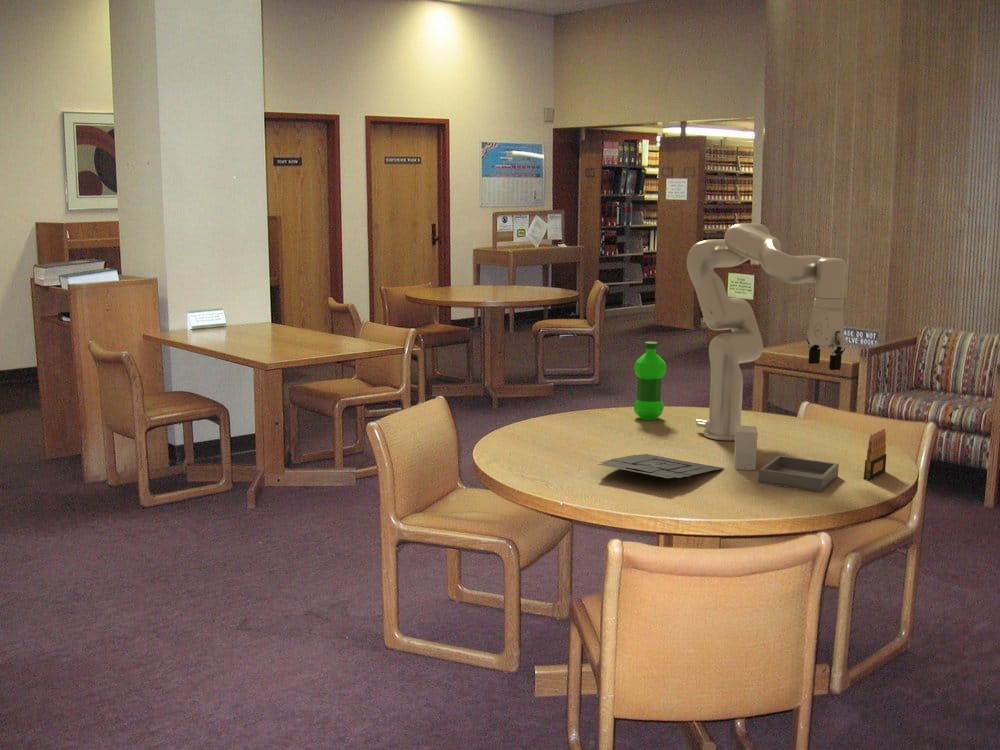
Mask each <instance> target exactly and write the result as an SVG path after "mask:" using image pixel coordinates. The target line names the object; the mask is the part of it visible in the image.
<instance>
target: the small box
mask: <svg viewBox="0 0 1000 750" xmlns="http://www.w3.org/2000/svg"><path fill="white" fill-rule="evenodd" d="M757 448H758V429H757V426H756V425H755V426H751V425H741V426H736V431H735V440H734V456H733V463H734V470H744V471H745V470H746V471H756V469H757V454H758V453H757V451H758V450H757Z"/></svg>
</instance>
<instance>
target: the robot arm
mask: <svg viewBox="0 0 1000 750" xmlns="http://www.w3.org/2000/svg"><path fill="white" fill-rule="evenodd" d="M723 237H724V238H722V239H721V238H719V239H718V238H717V239H706V240H702V241H699V242H696V243H695V244H693V245H692V247H691V248H690V249H689V251H688V253H687V257H686V258H687V259H686V269H687V272H688V276H689V278H690V280H691V283H692V284H693V287H694V290H695V293H696V297H697V300H698V303H699V306H700V310H701V313H702V317H703V320H704V322H705V325H706V326H707V328H709V330H712V331H725V330H728V331H729V330H730V331H731V332H725V333H720V334H717V335H716V336H715V337H712V339H711V341H710V343H709V345H708V355H709V364H710V393H709V412H708V413H709V415H708V417H709V418H708V419H706V420H704V419H700V418H697V419H696V421H695V425H696V426H697V427H699V428H704V430H703V433H702V435H703V436H704V437H706V438H708V439H711V440H716V441H735V431H736V426H742V410H743V409H742V407H743V406H742V405H743V387H744V376H743V373H742V371H741V367H740V364H745V363H751V362H755V361H757V360H758V359H760V358H761V356H762V354H763V350H764V348H763V347H764V344H763V338H762V336H761V335H762V334H761V332H760V330H759V329H760V328H759V325H758V322H757V320H756V316H755V314H754V311H753V308H752V306H751V304H750V303H749V302H748V301H746V299H743V298H741V297H729V296H728V293H727V291H726V286H725V285H724V282H723V280H722V279H721V277H720V276H719V274H717V273H716V272H715V271H714V269H715V268H716V269H717V268H733V267H736V266H739V265H741V264H744V263H745V262H746V261H748V260H751V261H752V262H755V263H757V264H759V265H761V267H762V269H763V271H764V272H765V273H766V274H768V275H769V276H771V277H773V278H775V279H777V280H780V281H782V282H784V283H786V284H791V285H798V284H811V283H813V284H814V283H815V288H814V299H813V300H814V302H813V307H812V311H811V313H810V319H809V325H808V330H807V331H806V332H805V334H806V342H807V344H808V345H807V348H808V349H809V350H808V361H807V362H808V364H811V365H813V364H816V365H817V364H820V361H821V360H820V359H821V348H820V347H822V348H828V349H829V350H830V353H831V354H830V355H829V364H828V365H829V366H828V369H829V371H839V370H841V367H842V357H843V355H844V352H845V351H846V347H847V345H848V339H846V338H845V337H844V330H845V327H844V326H845V324H844V302H845V301H844V300H845V289H846V275H847V274H846V273H847V262H846V260H844V259H843V258H838V257H825V256H821V255H816V254H811V255H810V254H809V255H808V254H807V255H792V254H788V253H786V252H783V251H781V249H782V247H781V241H780V240H779V239H778V238H777V237H775V236H773V235H772V234H771V231H770V230H769V228H768V227H767V226H766V225H764V224H762V223H758V222H756V223H755V222H753V223H751V222H748V223H747V222H746V223H745V222H744V223H742V222H741V223H736V224H734V225H731V226H730V227H729V228H727V230H726V231H725V233H724V236H723Z"/></svg>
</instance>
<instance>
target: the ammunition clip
mask: <svg viewBox="0 0 1000 750" xmlns="http://www.w3.org/2000/svg"><path fill="white" fill-rule="evenodd" d="M886 440H887V433H886V429H885V428H883V429H881V430H878V431H876V432H875V433H873V434H870V436H869V439H868V445H867V451H866V459H865V460H864V473H863V480H866V479H868V480H867V481H872V480H874V479H876V478H878V477H879V476H881V475H882V474H884V473H886V468H887V467H886V465H887V453H886V452H887V450H886V449H887V443H886ZM875 477H876V478H875Z"/></svg>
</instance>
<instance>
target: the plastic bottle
mask: <svg viewBox="0 0 1000 750" xmlns="http://www.w3.org/2000/svg"><path fill="white" fill-rule="evenodd" d="M658 345H659V344H658V342H657V341H644V347H643V349H645V353H643V354H642V355H641V356H640V357H639V358H638V359H637V360H636V361H635V363H634V365H633V371H634V375H635V376H636V378H637V389H636V390H637V391H636V400H635V402H634V405H633V410H634V413H635V414H636V415H637V416H638V417H639V418H640V420H645V421H654V420H657V419H658V418H659V417H660V416H661V415H662V414H663V411H664V402H663V400H662V384H663V383H662V382H663V380H662V379H663V378H664V377H665V375H666V371H667V365H666V363H667V362H666V361H665V360H664V359H663V358H662V357H661V356H660V355H659V354H657V353H656V351H657V349H658Z"/></svg>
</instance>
